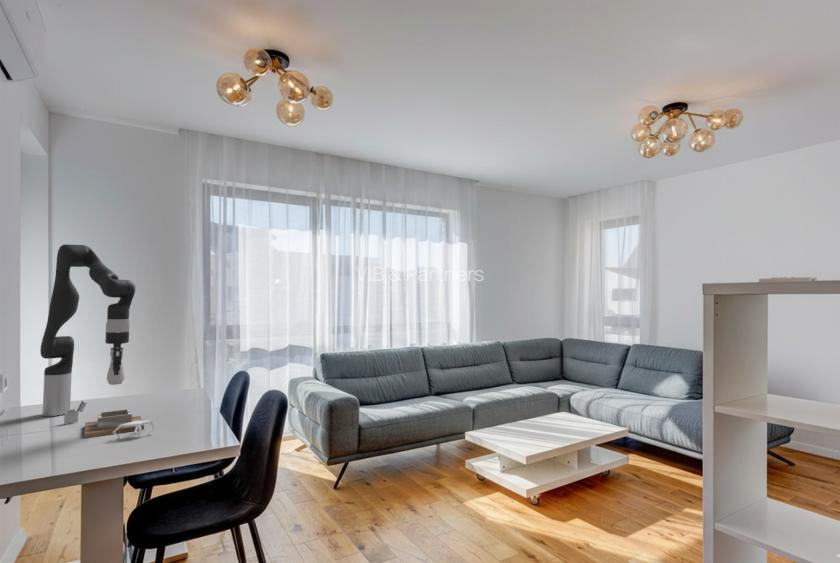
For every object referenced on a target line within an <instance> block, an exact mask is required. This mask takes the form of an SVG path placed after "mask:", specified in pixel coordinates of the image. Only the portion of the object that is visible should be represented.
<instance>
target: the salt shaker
mask: <svg viewBox="0 0 840 563" xmlns="http://www.w3.org/2000/svg"><path fill="white" fill-rule="evenodd" d="M124 353H125V352H124V351H123V353H122V357H123V356H124ZM113 355H114V354H113ZM109 356H110V357H111V356H112V353H111V351H110V352H109ZM115 362H119V360H115ZM112 365H113V361H112V360H111V359H110V363H109V367H108V370H107V375H106V380H107V383H108V385H109V386H110V385H111V386H112V385H113V386H116V385H122V384H123V382H124V380H125V379H126V378H125V377H126V374H125V371H124V365H123V359H122V360H121V365H120V366H119V367H120V371H119V375H114V371H113V366H112ZM116 369H117V368H116ZM116 371H117V370H116ZM116 373H117V372H116Z"/></svg>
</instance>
